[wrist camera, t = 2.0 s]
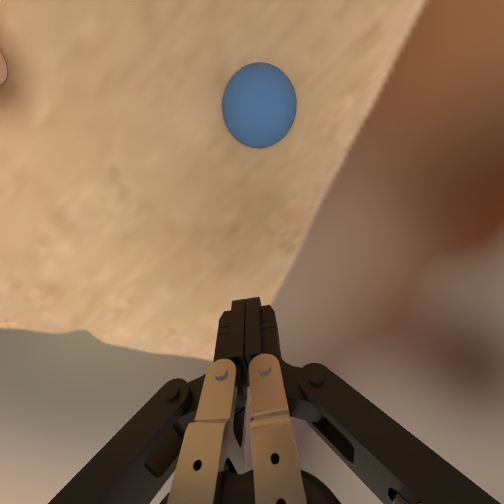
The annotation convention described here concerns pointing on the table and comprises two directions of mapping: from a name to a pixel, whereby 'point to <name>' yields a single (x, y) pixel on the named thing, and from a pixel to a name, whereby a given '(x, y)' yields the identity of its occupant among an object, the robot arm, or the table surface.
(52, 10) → the table surface
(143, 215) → the table surface
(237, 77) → the ball
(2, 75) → the smoothie
